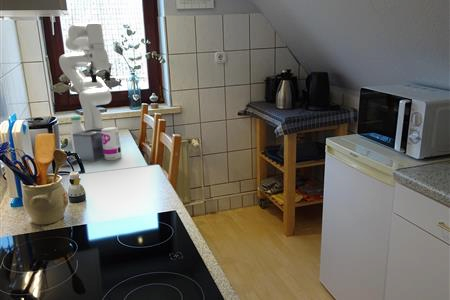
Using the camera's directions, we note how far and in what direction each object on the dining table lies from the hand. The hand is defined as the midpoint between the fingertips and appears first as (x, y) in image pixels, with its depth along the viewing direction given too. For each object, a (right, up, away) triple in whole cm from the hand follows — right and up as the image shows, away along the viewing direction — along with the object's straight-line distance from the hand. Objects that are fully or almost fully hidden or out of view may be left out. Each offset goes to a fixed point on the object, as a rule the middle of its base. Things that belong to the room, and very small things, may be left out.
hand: (101, 81), depth 208 cm
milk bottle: (-11, -38, +1) cm, 40 cm away
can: (-1, -39, -6) cm, 39 cm away
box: (-1, -39, -5) cm, 39 cm away
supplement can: (+9, -40, -11) cm, 42 cm away
